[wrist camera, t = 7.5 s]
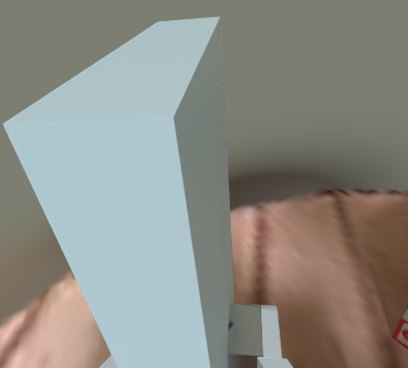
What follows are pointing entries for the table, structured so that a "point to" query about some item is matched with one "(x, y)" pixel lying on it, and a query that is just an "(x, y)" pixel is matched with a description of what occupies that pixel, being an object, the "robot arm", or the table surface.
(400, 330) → the stack of blocks
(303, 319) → the table surface
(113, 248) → the tall panel
